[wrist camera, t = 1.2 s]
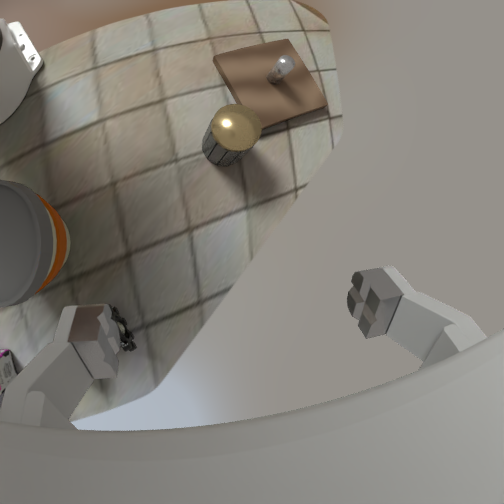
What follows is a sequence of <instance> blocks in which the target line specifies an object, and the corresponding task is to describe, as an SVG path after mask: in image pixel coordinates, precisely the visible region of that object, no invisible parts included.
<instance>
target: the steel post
mask: <svg viewBox="0 0 504 504" xmlns="http://www.w3.org/2000/svg"><path fill="white" fill-rule="evenodd" d="M294 66H295V61H294V59H293V58H292V57H290V56H288V55H283V56H281V57H280V58H279V60H278V61H277V62H276V64H275V65H274V66H273V68H272V69H271V70H270V72H269V73H268V74H267V76H266V78H267V81H268V82H269V83H270V84H273V85H278V84H279V83H280V82H281V81H282V80H283V79H284V78H285V77H286V75H287V74H288V73H289V72H290V71H291V70H292V69H293V67H294Z"/></svg>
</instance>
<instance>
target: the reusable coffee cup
mask: <svg viewBox="0 0 504 504" xmlns="http://www.w3.org/2000/svg"><path fill="white" fill-rule="evenodd" d="M70 244H71V240H70V234H69V231H68V228H67V226H66V224H65V222H64V221H63V220H62V219H61V217H60V215H59V214H58V213H57V211H56V210H55V209H54V208H53V207H52V206H51V205H50V204H48V203H47V202H46V201H45V200H44V199H43V198H41V197H40V196H39V195H38V194H36V193H34V192H33V191H32V190H31V189H30V188H28V187H26V186H24V185H22V184H19V183H15V182H10V181H4V180H0V307H7V306H12V305H17V304H20V303H22V302H24V301H27V300H28V299H29V298H30V297H32V296H33V295H34V294H36V293H37V292H39V291H40V290H41V289H43V288H44V287H45V286H46V285H47V284H48V283H49V282H50V281H52V280H53V278H54V277H55V276H56V275H57V274H58V272H59V271H60V269H61V268H62V267H63V265H64V264H65V262H66V261H67V258H68V256H69V252H70Z"/></svg>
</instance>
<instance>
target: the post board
mask: <svg viewBox="0 0 504 504" xmlns="http://www.w3.org/2000/svg"><path fill="white" fill-rule="evenodd" d="M283 55H288V56H290V57H292V58H293V59H294V61H295V66H294V67H293V69H292V70H291V71H290V72H289V73H288V74H287V75H286V77H285V78H284V79H283V80H282V81H281V82H280V83H279V84H278V85H273V84H270V83H269V82H268V81H267V78H266V76H267V74H268V73H269V72H270V70H271V69H272V68H273V66H274V65H275V64H276V62H277V61H278V60H279V58H280V57H281V56H283ZM213 62H214V64H215V66H216V68H217V69H218V71H219V73H220V74H221V76H222V78H223V80H224V81H225V83H226V85H227V87H228V89H229V90H230V92H231V94H232V96H233V97H234V99H235V101H236V103H237V104H240V105H244V106H246V107H248V108H250V109H251V110H253V111H254V112H255V113H256V115H257V116H258V117H259V119H260V122H261V126H262V130H263V129H266V128H268V127H271V126H273V125H276V124H279V123H281V122H284V121H287V120H290V119H292V118H295V117H298V116H301V115H304V114H307V113H309V112H312V111H315V110H318V109H321V108H324V107H325V106H327V105H328V103H327V102H326V100H325V98H324V96H323V95H322V93H321V91H320V89H319V88H318V86H317V84H316V82H315V81H314V79H313V77H312V76H311V74H310V72H309V71H308V69H307V68H306V66H305V64H304V63H303V61H302V60H301V58H300V56H299V55H298V53H297V52H296V50H295V49H294V47H293V46H292V44H291V43H290V41H289V40H288V39H283V40H278V41H273V42H268V43H263V44H259V45H254V46H250V47H245V48H241V49H237V50H234V51H230V52H226V53H222V54H219V55H215V56H214V58H213Z"/></svg>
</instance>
